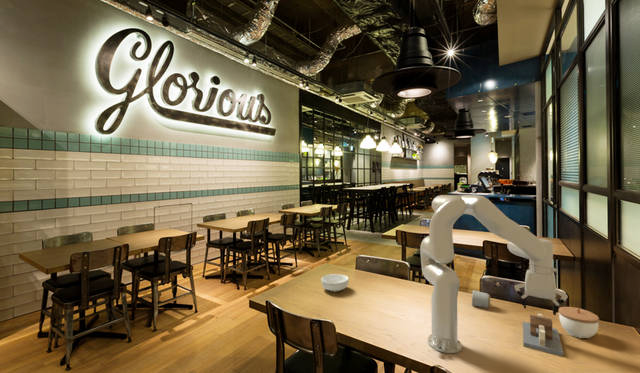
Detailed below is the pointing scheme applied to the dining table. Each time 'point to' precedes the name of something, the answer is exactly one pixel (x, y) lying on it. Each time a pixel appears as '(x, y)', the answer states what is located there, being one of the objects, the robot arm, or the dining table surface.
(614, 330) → the dining table surface
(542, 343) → the maple fin
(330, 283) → the cereal bowl
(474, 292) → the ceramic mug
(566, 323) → the lidded bowl
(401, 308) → the dining table surface
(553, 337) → the slate board
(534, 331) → the walnut slotted block
